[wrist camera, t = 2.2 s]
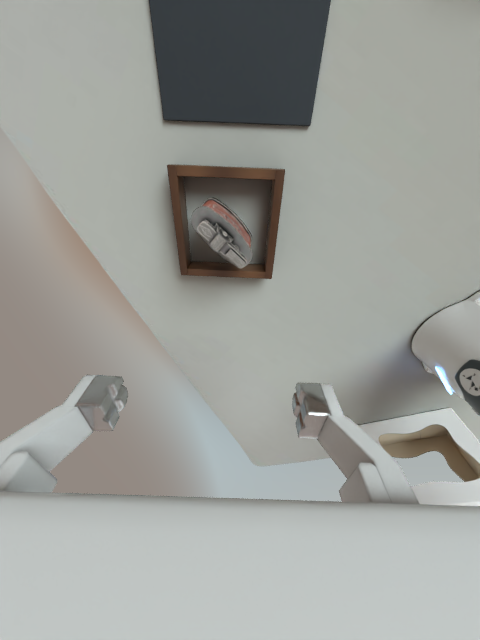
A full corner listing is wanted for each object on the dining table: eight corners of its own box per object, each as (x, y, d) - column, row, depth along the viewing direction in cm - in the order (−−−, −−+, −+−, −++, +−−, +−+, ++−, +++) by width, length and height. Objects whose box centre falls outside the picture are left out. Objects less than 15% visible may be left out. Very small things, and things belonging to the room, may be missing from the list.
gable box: (451, 406, 53) (609, 594, 30) (448, 434, 59) (574, 604, 36) (353, 425, 58) (421, 595, 35) (360, 448, 65) (421, 603, 42)
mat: (345, -97, 17) (347, -103, 17) (309, 126, 25) (310, 125, 24) (137, -105, 17) (135, -110, 17) (164, 120, 25) (163, 119, 24)
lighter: (196, 211, 30) (177, 230, 22) (213, 190, 28) (198, 201, 20) (240, 253, 33) (238, 282, 25) (257, 235, 32) (260, 261, 23)
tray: (281, 168, 27) (285, 169, 25) (269, 270, 34) (271, 278, 32) (174, 164, 27) (166, 164, 25) (185, 267, 34) (180, 275, 32)
